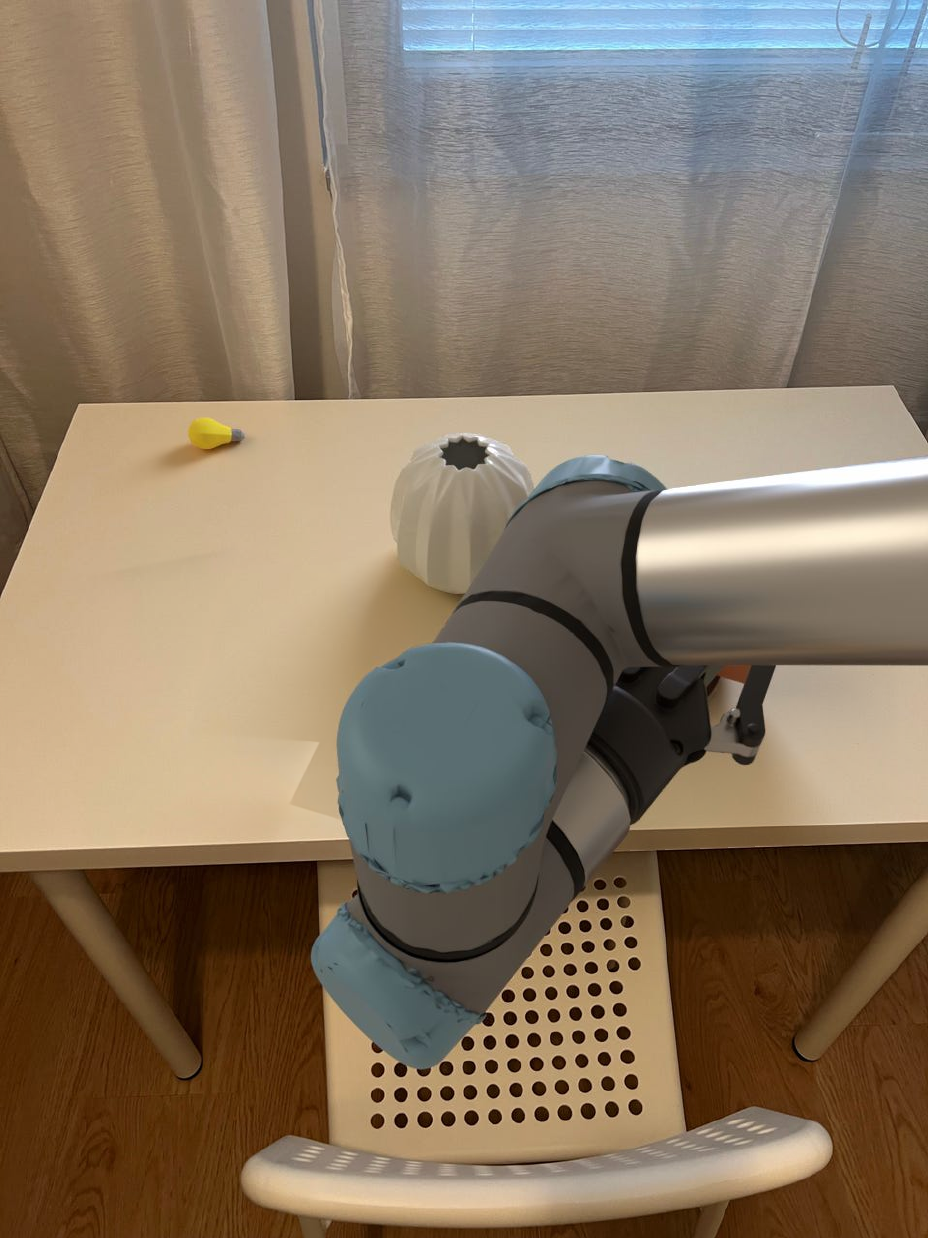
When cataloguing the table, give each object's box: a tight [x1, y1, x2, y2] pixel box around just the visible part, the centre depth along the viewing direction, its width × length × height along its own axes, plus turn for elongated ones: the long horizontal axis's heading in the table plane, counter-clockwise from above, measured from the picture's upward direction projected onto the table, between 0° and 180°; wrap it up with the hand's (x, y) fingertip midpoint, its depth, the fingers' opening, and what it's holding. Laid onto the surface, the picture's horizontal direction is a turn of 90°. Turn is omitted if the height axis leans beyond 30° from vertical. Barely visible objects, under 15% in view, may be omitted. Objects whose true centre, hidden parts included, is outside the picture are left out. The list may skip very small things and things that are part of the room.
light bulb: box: [187, 416, 246, 450], centre depth 103 cm, size 3×6×4 cm, turn 106°
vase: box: [389, 432, 535, 595], centre depth 87 cm, size 14×14×13 cm
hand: (792, 531), depth 59 cm, fingers closed
